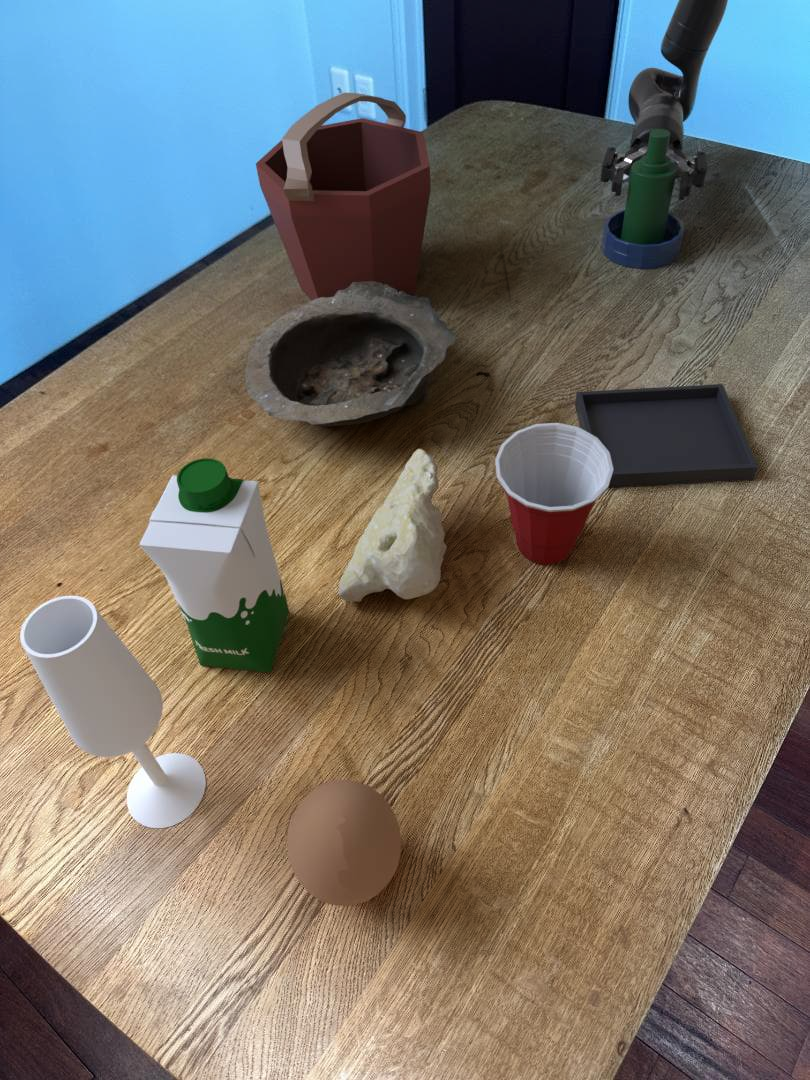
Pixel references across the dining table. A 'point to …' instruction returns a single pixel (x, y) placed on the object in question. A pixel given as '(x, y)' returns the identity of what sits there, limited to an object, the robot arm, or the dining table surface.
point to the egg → (344, 842)
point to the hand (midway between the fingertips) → (650, 191)
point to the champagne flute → (109, 705)
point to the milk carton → (220, 566)
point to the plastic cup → (551, 486)
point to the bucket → (349, 197)
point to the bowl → (640, 253)
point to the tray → (668, 435)
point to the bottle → (650, 193)
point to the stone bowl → (348, 356)
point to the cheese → (400, 539)
